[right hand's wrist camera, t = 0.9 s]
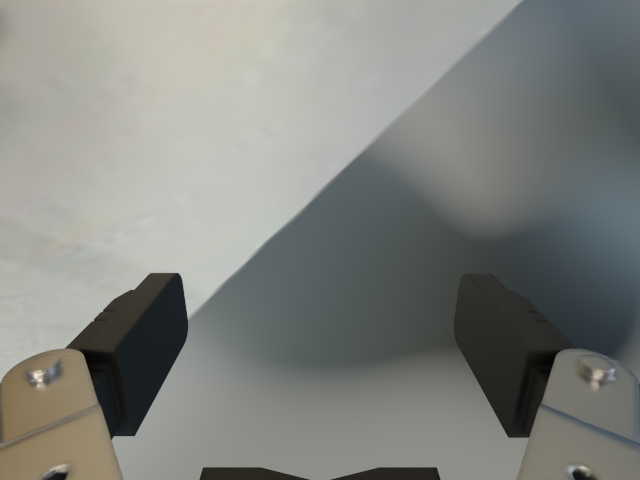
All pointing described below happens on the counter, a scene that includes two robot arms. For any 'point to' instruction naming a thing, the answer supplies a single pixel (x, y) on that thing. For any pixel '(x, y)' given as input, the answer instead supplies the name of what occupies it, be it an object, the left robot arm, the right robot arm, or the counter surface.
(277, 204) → the counter surface
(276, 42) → the counter surface
